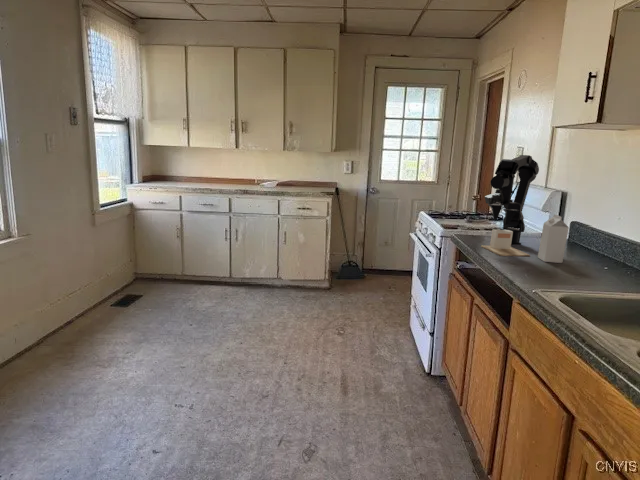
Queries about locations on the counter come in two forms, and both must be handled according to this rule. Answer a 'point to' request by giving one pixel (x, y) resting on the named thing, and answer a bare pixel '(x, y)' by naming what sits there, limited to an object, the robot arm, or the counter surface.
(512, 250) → the mat
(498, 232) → the cream box
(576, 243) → the counter surface
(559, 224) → the milk carton
